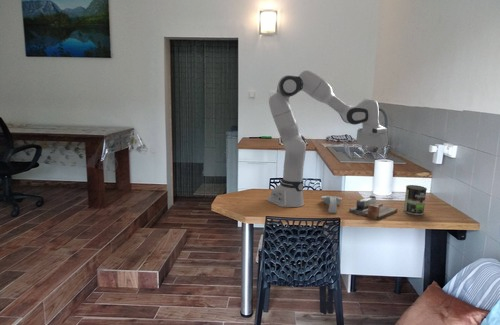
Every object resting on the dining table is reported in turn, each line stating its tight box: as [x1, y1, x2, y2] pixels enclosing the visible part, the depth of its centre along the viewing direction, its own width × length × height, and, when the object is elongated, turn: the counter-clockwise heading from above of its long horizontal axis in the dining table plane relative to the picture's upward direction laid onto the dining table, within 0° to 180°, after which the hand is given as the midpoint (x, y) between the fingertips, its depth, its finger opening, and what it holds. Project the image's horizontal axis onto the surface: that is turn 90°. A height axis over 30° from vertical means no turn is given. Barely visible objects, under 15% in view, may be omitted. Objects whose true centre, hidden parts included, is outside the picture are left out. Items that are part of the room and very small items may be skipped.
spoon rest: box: [321, 195, 343, 214], centre depth 211 cm, size 24×12×7 cm, turn 171°
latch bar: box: [355, 195, 377, 208], centre depth 207 cm, size 16×4×4 cm, turn 134°
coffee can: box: [403, 184, 427, 216], centre depth 205 cm, size 10×10×14 cm
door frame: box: [348, 203, 398, 221], centre depth 204 cm, size 17×21×6 cm
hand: (371, 153), depth 208 cm, fingers open, 8 cm apart
